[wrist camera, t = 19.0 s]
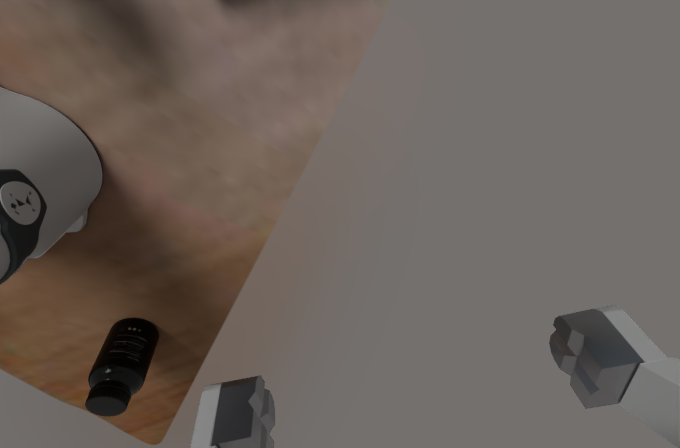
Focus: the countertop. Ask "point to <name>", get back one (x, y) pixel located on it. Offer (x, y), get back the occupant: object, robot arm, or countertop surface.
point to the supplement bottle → (121, 366)
